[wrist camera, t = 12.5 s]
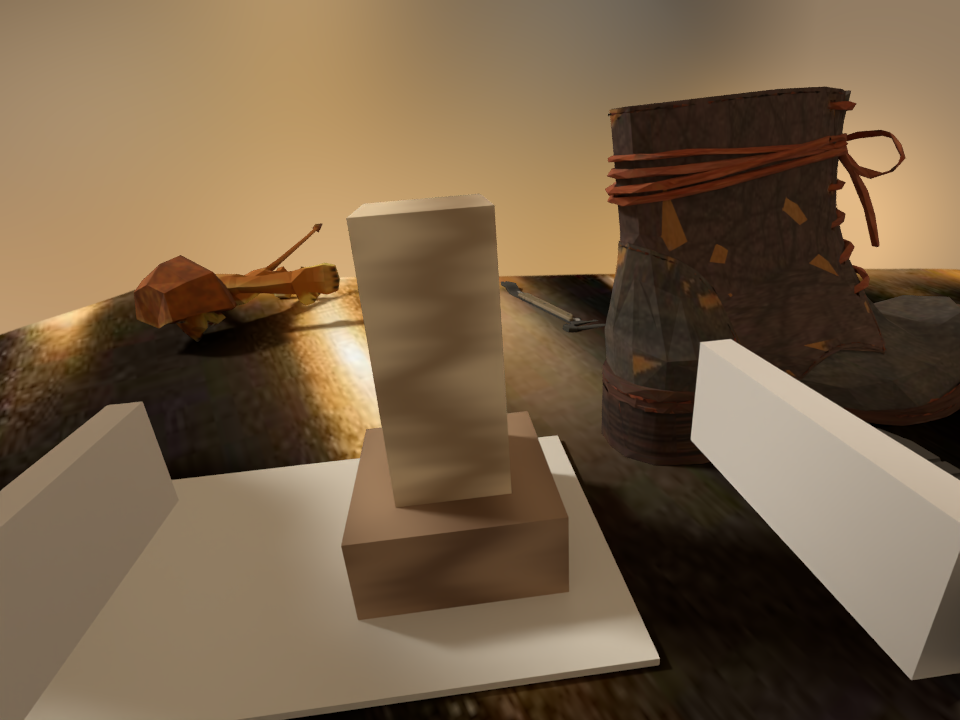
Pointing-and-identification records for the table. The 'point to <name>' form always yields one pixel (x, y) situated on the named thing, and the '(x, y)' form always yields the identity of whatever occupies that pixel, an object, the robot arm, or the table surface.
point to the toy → (222, 290)
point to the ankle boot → (754, 269)
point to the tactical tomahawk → (550, 309)
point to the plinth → (455, 537)
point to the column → (435, 344)
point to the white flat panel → (321, 614)
